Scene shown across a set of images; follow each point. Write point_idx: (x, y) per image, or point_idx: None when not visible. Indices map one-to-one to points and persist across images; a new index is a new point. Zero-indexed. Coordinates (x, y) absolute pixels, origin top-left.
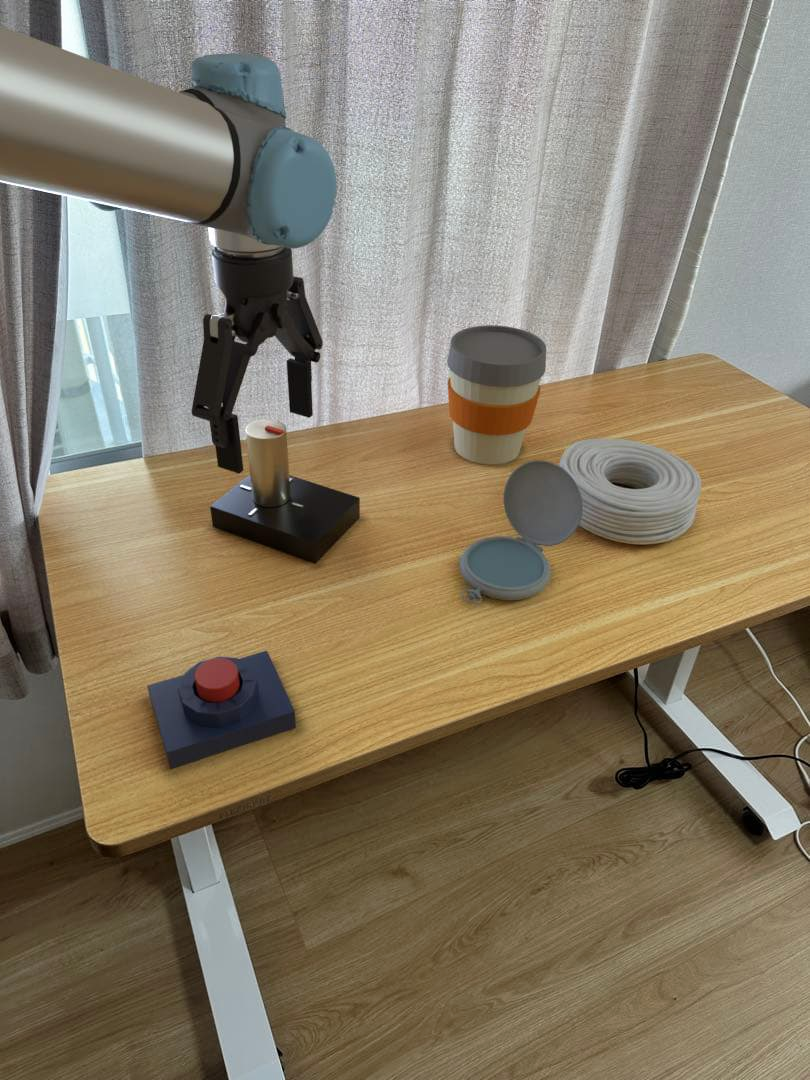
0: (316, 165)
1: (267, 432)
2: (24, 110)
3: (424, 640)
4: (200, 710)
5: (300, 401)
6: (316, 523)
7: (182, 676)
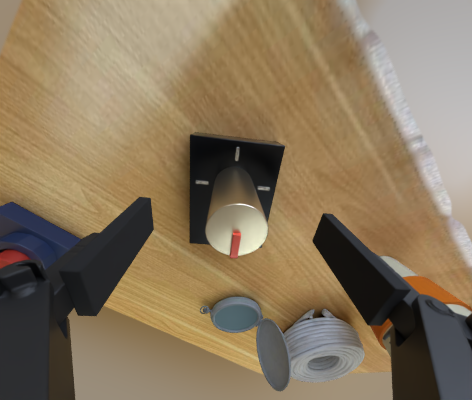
0: None
1: (228, 238)
2: None
3: (166, 296)
4: None
5: (328, 245)
6: None
7: (19, 225)
